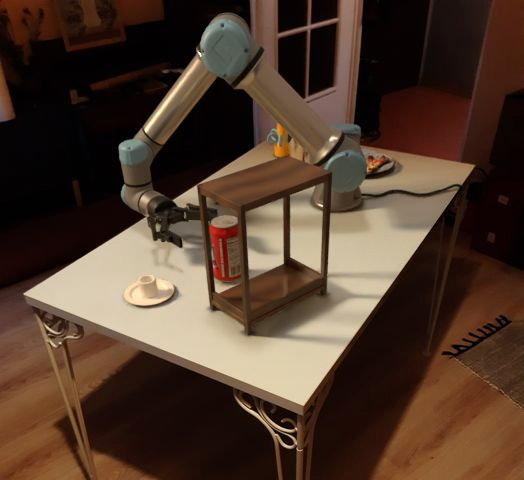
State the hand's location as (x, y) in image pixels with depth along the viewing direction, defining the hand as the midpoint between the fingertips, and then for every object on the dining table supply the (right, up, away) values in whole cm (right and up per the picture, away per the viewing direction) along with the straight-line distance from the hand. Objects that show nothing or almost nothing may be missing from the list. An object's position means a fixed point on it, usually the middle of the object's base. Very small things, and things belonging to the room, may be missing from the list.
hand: (203, 234), depth 142 cm
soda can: (+6, -11, -1) cm, 13 cm away
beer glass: (+27, +35, +56) cm, 72 cm away
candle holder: (-12, -16, -6) cm, 21 cm away
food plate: (+48, +35, +56) cm, 81 cm away
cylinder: (+22, +43, +67) cm, 83 cm away
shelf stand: (+16, -18, -10) cm, 26 cm away
